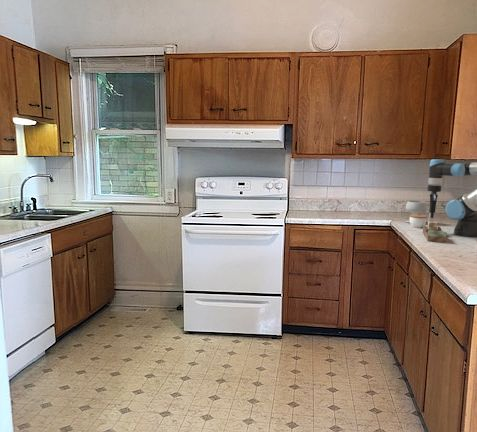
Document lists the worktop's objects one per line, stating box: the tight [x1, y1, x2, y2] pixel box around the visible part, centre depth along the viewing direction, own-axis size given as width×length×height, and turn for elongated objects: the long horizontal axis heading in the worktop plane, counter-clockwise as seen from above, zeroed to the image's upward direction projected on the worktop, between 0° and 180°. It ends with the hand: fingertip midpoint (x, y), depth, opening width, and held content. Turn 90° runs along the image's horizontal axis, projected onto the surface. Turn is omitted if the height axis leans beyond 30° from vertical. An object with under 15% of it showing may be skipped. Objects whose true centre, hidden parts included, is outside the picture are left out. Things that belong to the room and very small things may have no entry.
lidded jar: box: [409, 213, 428, 229], centre depth 279 cm, size 11×11×9 cm
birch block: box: [427, 220, 438, 231], centre depth 254 cm, size 4×4×4 cm
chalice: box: [405, 200, 428, 224], centre depth 296 cm, size 14×14×15 cm
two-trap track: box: [422, 224, 447, 243], centre depth 246 cm, size 9×27×6 cm, turn 162°
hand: (431, 222), depth 261 cm, fingers closed
